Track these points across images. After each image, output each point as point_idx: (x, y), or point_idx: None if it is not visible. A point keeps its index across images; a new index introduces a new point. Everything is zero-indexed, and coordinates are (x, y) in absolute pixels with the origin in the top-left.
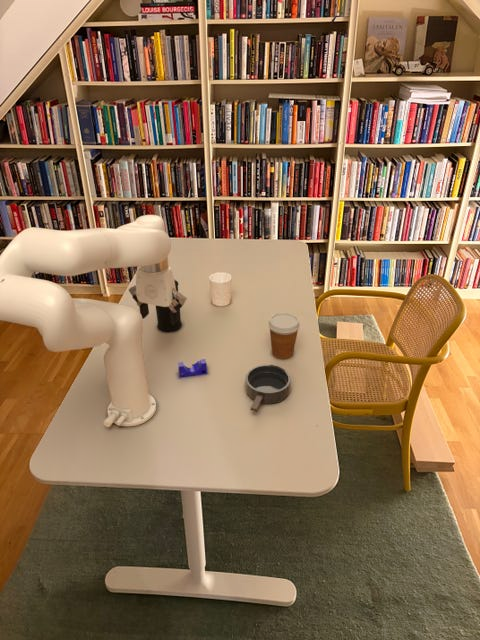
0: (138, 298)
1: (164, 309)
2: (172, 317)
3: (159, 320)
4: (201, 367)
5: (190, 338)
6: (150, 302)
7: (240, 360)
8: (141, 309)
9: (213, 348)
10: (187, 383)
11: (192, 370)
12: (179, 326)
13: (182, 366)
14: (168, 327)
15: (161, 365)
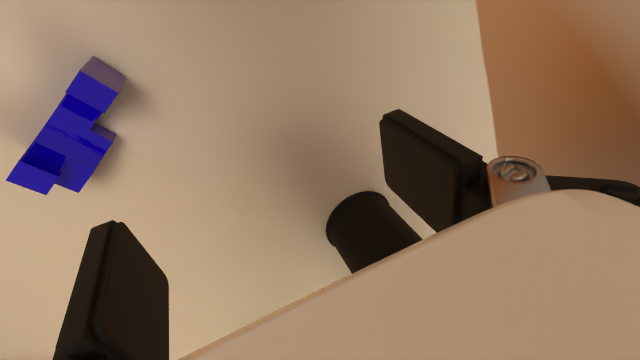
0: (627, 211)
1: (390, 254)
2: (74, 291)
3: (385, 213)
4: (26, 151)
5: (268, 229)
6: (388, 296)
7: (25, 279)
8: (445, 149)
9: (167, 250)
10: (22, 48)
11: (66, 117)
12: (330, 237)
13: (69, 86)
14: (349, 213)
15: (229, 71)
